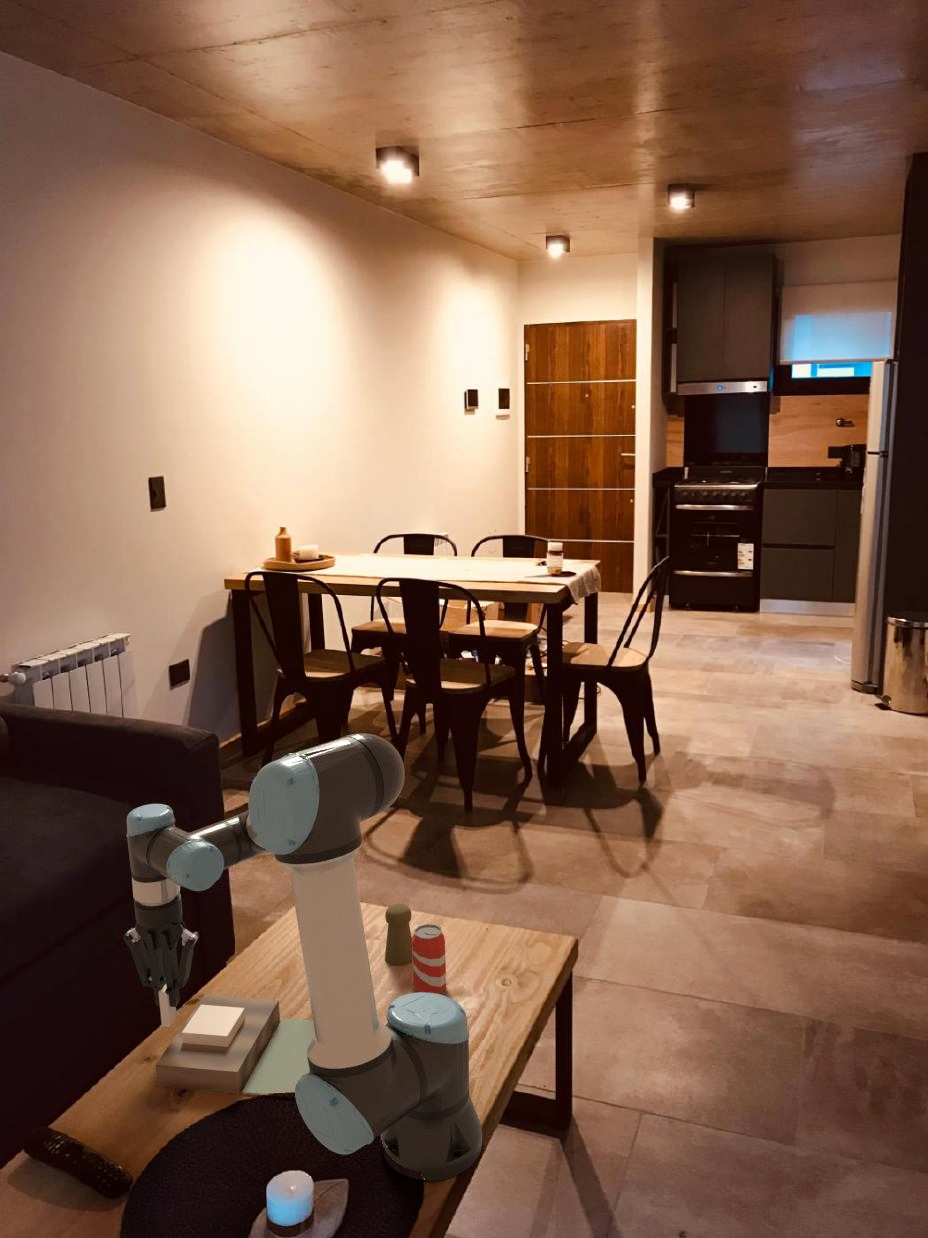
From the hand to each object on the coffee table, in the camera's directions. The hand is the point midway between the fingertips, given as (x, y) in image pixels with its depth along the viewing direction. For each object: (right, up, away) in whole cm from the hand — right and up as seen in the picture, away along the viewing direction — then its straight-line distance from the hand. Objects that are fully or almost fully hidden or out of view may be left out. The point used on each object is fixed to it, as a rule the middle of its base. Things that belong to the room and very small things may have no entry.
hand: (169, 1021), depth 176 cm
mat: (+24, -5, -3) cm, 25 cm away
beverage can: (+44, -1, +17) cm, 47 cm away
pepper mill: (+38, +2, +28) cm, 47 cm away
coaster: (+8, -1, -1) cm, 8 cm away
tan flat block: (+9, -5, 0) cm, 10 cm away
